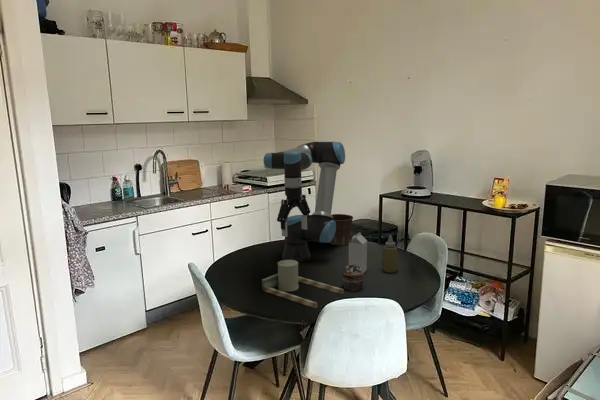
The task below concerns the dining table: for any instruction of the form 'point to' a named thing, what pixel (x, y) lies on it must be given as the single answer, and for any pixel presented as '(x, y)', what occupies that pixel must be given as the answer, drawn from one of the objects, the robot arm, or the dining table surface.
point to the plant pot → (342, 229)
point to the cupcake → (352, 278)
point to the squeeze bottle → (390, 256)
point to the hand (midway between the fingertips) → (294, 232)
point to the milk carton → (358, 252)
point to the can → (288, 275)
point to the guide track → (273, 282)
